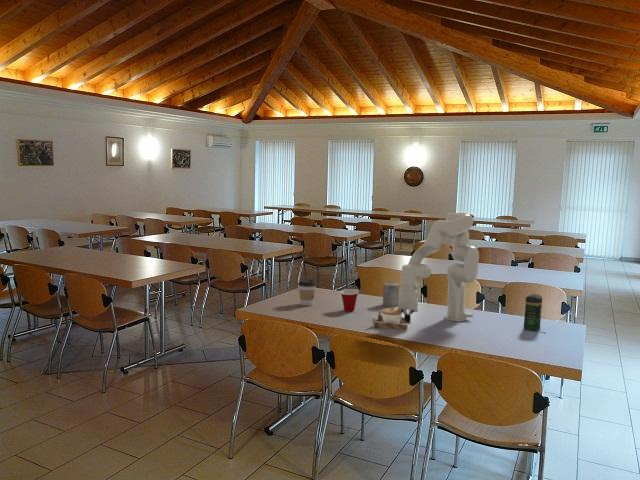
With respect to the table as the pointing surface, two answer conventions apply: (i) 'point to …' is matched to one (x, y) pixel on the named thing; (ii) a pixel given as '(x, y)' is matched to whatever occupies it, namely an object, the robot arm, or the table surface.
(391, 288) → the pillar candle
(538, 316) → the coffee jar
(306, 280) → the coffee cup
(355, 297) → the plastic cup
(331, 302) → the table surface
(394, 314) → the lidded jar
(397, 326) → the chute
